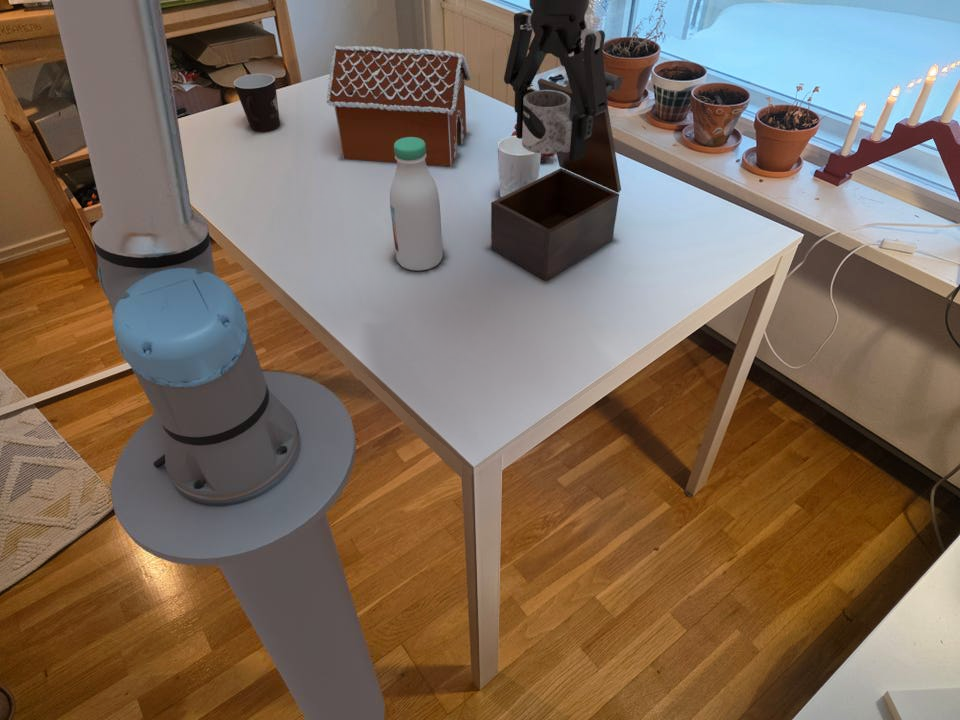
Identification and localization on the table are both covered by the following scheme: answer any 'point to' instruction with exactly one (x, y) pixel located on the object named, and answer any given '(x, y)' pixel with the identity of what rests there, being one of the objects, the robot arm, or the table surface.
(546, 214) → the chest
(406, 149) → the milk bottle
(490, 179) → the table surface
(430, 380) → the table surface
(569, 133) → the mug
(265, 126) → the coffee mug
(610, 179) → the lid
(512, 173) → the white cup
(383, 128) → the gingerbread house
